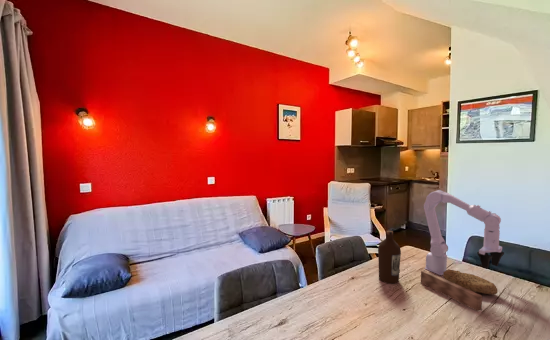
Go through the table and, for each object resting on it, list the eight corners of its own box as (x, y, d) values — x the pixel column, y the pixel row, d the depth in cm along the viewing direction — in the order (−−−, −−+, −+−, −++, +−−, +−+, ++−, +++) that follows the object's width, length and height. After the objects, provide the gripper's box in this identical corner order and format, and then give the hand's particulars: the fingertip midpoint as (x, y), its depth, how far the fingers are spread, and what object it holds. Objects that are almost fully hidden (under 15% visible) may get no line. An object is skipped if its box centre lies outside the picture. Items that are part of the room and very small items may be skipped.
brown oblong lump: (440, 284, 134) (480, 296, 115) (440, 267, 135) (479, 276, 116) (461, 285, 137) (503, 297, 118) (460, 269, 138) (502, 278, 119)
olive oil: (373, 278, 137) (374, 230, 136) (385, 272, 143) (386, 227, 142) (392, 286, 128) (393, 235, 127) (404, 280, 134) (405, 232, 133)
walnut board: (420, 282, 132) (421, 271, 132) (424, 281, 133) (424, 270, 133) (477, 311, 108) (478, 297, 108) (481, 309, 109) (482, 295, 109)
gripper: (491, 243, 121) (490, 272, 122) (510, 239, 127) (508, 267, 127) (474, 239, 128) (473, 266, 128) (493, 235, 133) (492, 261, 134)
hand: (489, 266), depth 128 cm, fingers open, 7 cm apart
